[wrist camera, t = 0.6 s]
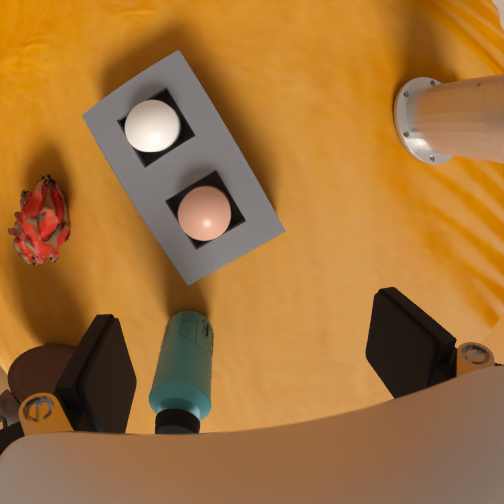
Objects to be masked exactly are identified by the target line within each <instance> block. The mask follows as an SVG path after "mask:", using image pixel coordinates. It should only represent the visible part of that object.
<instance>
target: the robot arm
mask: <svg viewBox="0 0 504 504" xmlns="http://www.w3.org/2000/svg"><path fill="white" fill-rule="evenodd" d="M394 122H395V127H396V131H397V133H398V136H399V138H400V140H401V142H402V144H403V145H404V147H405V148H406V149H407V151H408V152H409V153H410V154H411V155H412V156H413V157H414V158H416V159H418V160H419V161H421V162H424V163H427V164H433V165H434V164H442V163H446V162H447V161H449V160H450V159H452V158H453V157H454V156H459V157H466V158H473V159H480V160H486V161H492V162H498V163H504V74H500V75H494V76H486V77H479V78H473V79H466V80H460V81H455V82H449V83H444V84H442V83H441V82H439V81H437V80H435V79H433V78H429V77H418V78H414V79H411V80H409V81H407V82H406V83H405V84H404V85H403V86H402V87H401V88H400V89H399V91H398V93H397V96H396V99H395V103H394ZM456 340H457V339H456V338H455V337H453V336H452V335H451V334H450V333H449V332H448V331H447V330H445V329H444V328H443V327H442V326H441V325H440V324H438V323H437V322H436V321H435V320H434V319H432V318H431V317H430V316H429V315H428V314H427V313H425V312H424V311H423V310H422V309H421V308H419V307H418V306H417V305H416V304H414V303H413V302H412V301H411V300H410V299H408V298H407V297H406V296H405V295H403V294H402V293H401V292H400V291H398V290H397V289H396V288H394V287H389V288H383V289H380V290H379V291H378V293H376V294H375V296H374V301H373V308H372V315H371V322H370V328H369V335H368V341H367V346H366V358H367V360H368V362H369V363H370V365H371V366H372V367H373V369H374V370H375V372H376V373H377V374H378V376H379V377H380V379H381V380H382V381H383V383H384V384H385V386H386V387H387V389H388V390H389V391H390V393H391V394H392V396H393V397H394V399H392V400H389V401H385V402H382V403H379V404H375V405H371V406H368V407H364V408H360V409H356V410H352V411H348V412H344V413H340V414H335V415H331V416H326V417H322V418H317V419H312V420H307V421H301V422H295V423H290V424H283V425H277V426H270V427H263V428H255V429H246V430H236V431H225V432H212V433H194V434H128V433H125V431H126V427H127V422H128V418H129V414H130V409H131V405H132V401H133V397H134V393H135V389H136V384H137V381H136V376H135V372H134V369H133V366H132V363H131V360H130V357H129V353H128V350H127V347H126V343H125V340H124V336H123V333H122V329H121V325H120V322H119V319H118V318H114V316H113V315H112V314H104V315H97V316H96V317H95V318H94V320H93V322H92V323H91V325H90V326H89V328H88V330H87V331H86V333H85V335H84V336H83V338H82V340H81V341H80V343H79V345H78V346H77V348H76V350H75V352H74V353H73V355H72V357H71V359H70V360H69V362H68V364H67V366H66V367H65V369H64V371H63V373H62V375H61V376H60V378H59V380H58V382H57V384H56V386H55V388H56V389H55V390H54V392H53V394H49V393H37V394H34V395H32V396H30V397H28V398H27V399H26V400H24V401H23V403H22V404H21V406H20V408H19V411H18V412H19V419H20V421H18V422H16V423H14V424H12V425H10V426H8V427H6V428H3V429H1V430H0V504H504V365H502V364H497V363H495V362H494V356H493V354H492V352H491V351H490V349H488V348H487V347H485V346H484V345H481V344H479V343H474V342H468V343H464V344H462V345H460V346H459V347H458V349H457V348H456V347H454V346H455V343H456Z"/></svg>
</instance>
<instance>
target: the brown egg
mask: <svg viewBox="0 0 504 504" xmlns="http://www.w3.org/2000/svg"><path fill="white" fill-rule="evenodd" d="M230 219H231V211H230V202H229V199H228V197H227V195H226V193H225V192H224V191H223V190H222V189H221V188H219V187H217V186H215V185H211V184H202V185H199V186H196V187H194V188H193V189H192V190H191V191H190V192H189V193H188V194H187V195H186V196H185V198H184V199H183V200H182V202H181V204H180V206H179V209H178V220H179V223H180V226H181V228H182V229H183V231H184V232H185V233H186V234H187V235H189V236H190V237H192V238H194V239H197V240H201V241H207V240H212V239H215V238H217V237H219V236H220V235H221V234H223V233H224V232H225V230H226V229H227V227H228V225H229V223H230Z"/></svg>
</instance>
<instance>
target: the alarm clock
mask: <svg viewBox="0 0 504 504" xmlns="http://www.w3.org/2000/svg"><path fill="white" fill-rule="evenodd" d="M46 344H47V345H44V346H39V347H35V348H32V349H30V350H28V351H26V352H24V353H23V354H21V355H20V356H19V357H18V358H16V359H15V361H14V362H13V363H12V365H11V367H10V369H9V372H8V384H9V387H10V390H11V392H10V391H9V390H5V391H4V392H3V393H2V394H1V395H0V422H3V428H6V427H8V425H9V426H10V425H12V424H14V423H16V422H18V421H20V419H19V412H18V411H19V408H20V406H21V404H22V403H23V401H24V400H26V399H27V398H28V397H30V396H32V395H34V394H37V393H49V394H53V392H54V390H55V389H56V388H55V386H56V384H57V382H58V380H59V378H60V376H61V375H62V373H63V371H64V369H65V367H66V366H67V364H68V362H69V360H70V359H71V357H72V355H73V353H74V352H75V350H76V349H74V348H71V347H68V346H63V345H50V342H47V343H46ZM7 423H8V424H7Z"/></svg>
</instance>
